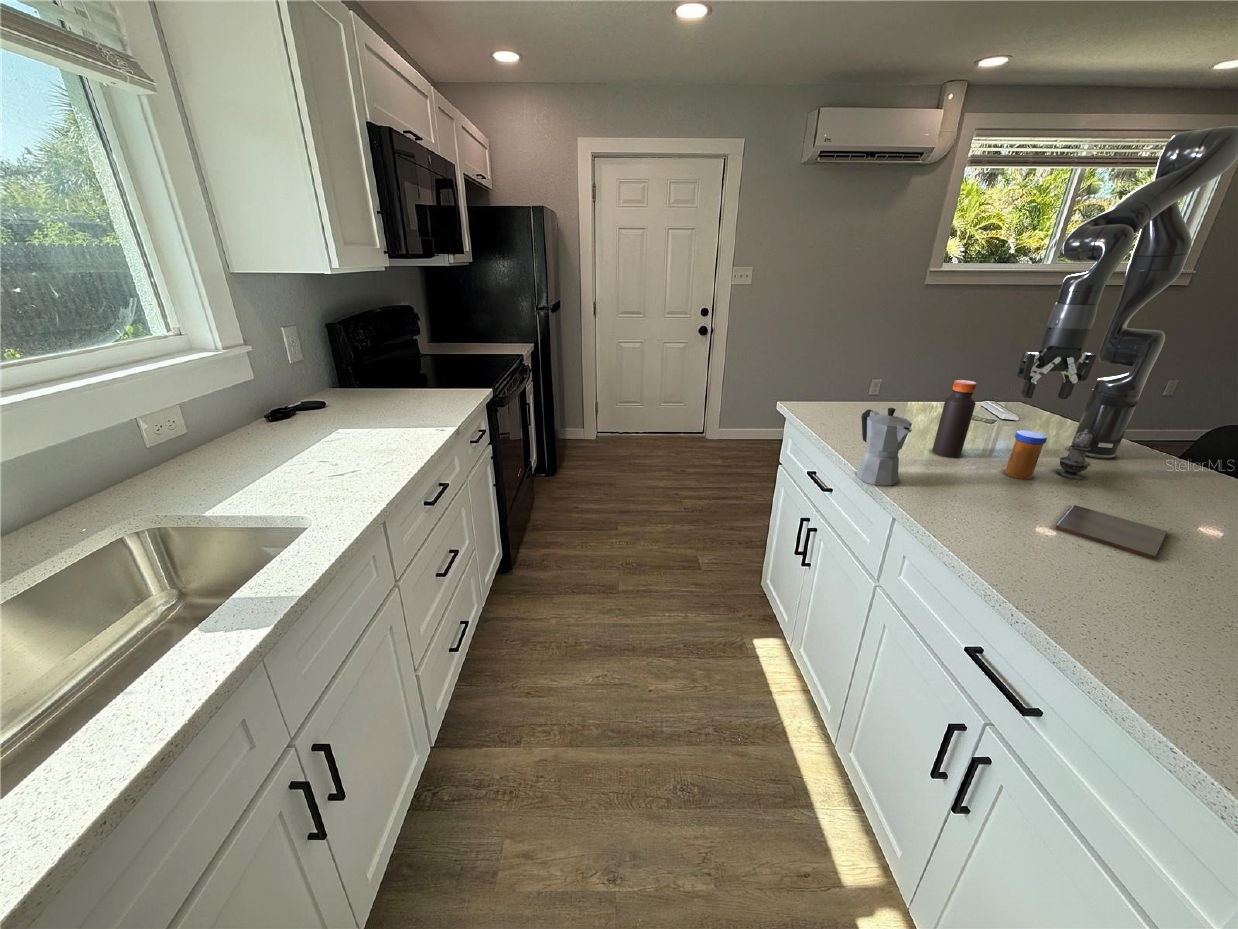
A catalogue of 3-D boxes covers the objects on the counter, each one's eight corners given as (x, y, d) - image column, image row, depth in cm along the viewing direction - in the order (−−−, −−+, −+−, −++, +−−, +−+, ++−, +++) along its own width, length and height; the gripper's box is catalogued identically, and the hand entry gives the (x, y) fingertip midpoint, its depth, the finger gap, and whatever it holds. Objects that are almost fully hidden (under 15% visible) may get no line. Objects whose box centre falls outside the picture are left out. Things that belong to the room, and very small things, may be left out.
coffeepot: (913, 487, 115) (931, 414, 108) (878, 491, 114) (895, 417, 107) (868, 463, 129) (882, 396, 122) (837, 466, 127) (849, 399, 120)
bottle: (934, 455, 134) (953, 383, 126) (930, 447, 140) (947, 378, 132) (963, 459, 131) (984, 386, 124) (957, 450, 137) (977, 380, 129)
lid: (1019, 434, 122) (1021, 428, 122) (1048, 440, 118) (1050, 434, 117) (1011, 439, 119) (1013, 433, 118) (1041, 446, 115) (1043, 440, 114)
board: (1072, 508, 106) (1074, 504, 105) (1165, 534, 96) (1167, 530, 95) (1055, 528, 98) (1056, 525, 97) (1153, 559, 88) (1155, 556, 87)
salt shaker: (1091, 480, 119) (1110, 433, 114) (1063, 478, 120) (1081, 432, 115) (1075, 470, 124) (1093, 425, 119) (1049, 468, 125) (1065, 424, 120)
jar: (1008, 468, 125) (1021, 431, 121) (1034, 475, 122) (1048, 436, 118) (1001, 474, 122) (1014, 435, 118) (1027, 481, 118) (1041, 441, 115)
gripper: (1092, 323, 110) (1066, 394, 117) (1023, 322, 112) (1001, 393, 119) (1119, 327, 104) (1090, 403, 110) (1045, 326, 105) (1021, 401, 112)
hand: (1044, 397), depth 114 cm, fingers open, 7 cm apart
